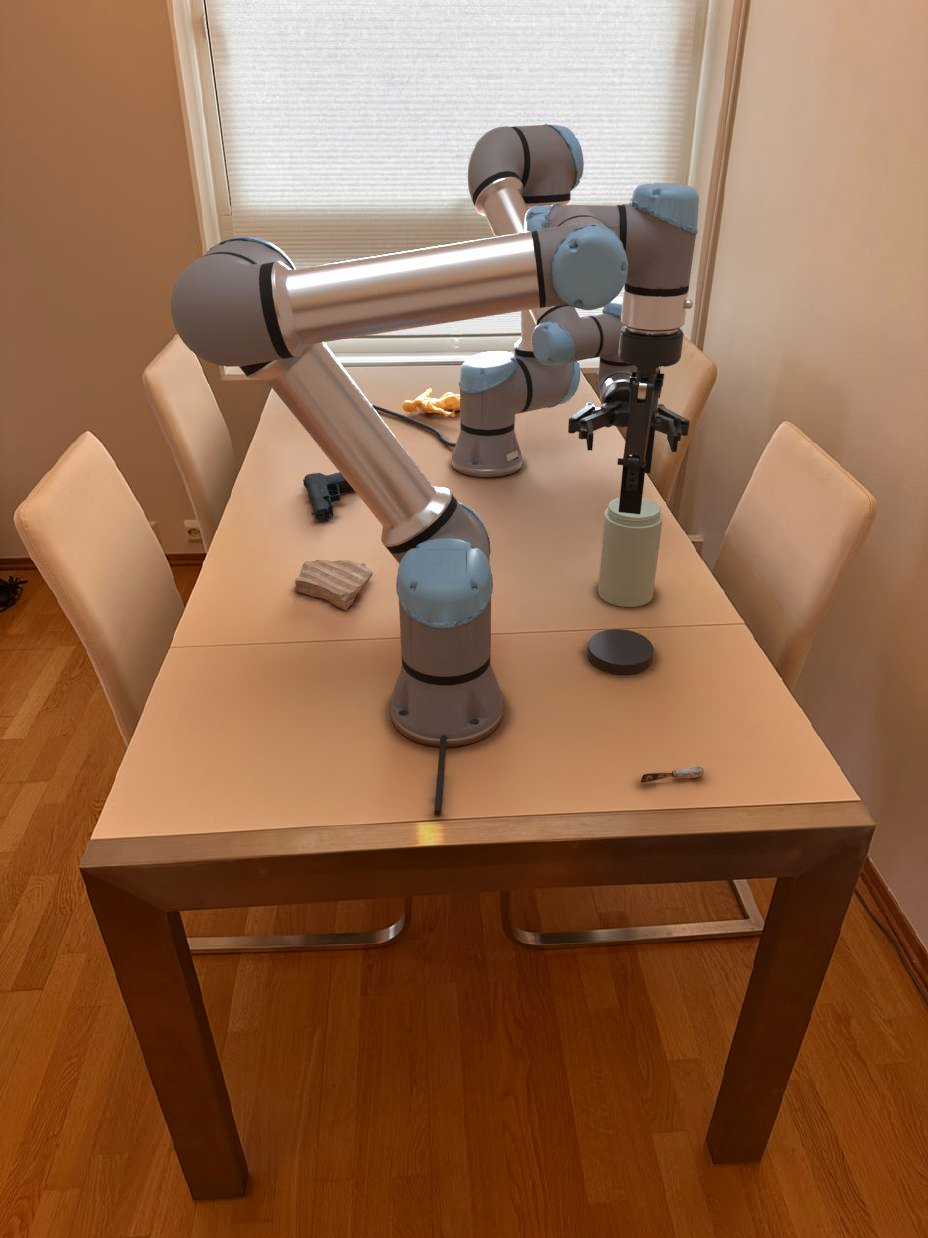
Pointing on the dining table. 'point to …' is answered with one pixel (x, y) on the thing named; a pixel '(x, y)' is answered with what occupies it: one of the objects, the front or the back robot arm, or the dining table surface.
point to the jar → (629, 554)
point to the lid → (620, 651)
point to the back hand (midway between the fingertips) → (632, 443)
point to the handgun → (325, 492)
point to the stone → (333, 580)
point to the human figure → (434, 403)
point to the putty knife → (674, 774)
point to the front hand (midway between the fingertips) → (635, 491)
